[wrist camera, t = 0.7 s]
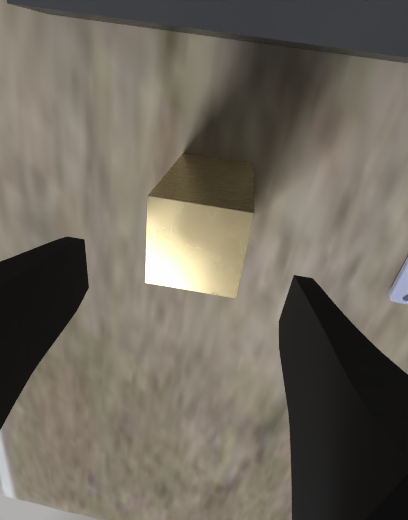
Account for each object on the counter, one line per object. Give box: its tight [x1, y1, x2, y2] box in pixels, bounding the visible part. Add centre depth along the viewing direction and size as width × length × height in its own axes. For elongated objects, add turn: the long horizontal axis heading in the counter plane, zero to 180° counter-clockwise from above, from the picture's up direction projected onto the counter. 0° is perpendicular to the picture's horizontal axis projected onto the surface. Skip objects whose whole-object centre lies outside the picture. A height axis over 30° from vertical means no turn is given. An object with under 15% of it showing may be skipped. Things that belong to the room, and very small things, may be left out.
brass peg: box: [145, 154, 254, 298], centre depth 16 cm, size 4×4×7 cm
